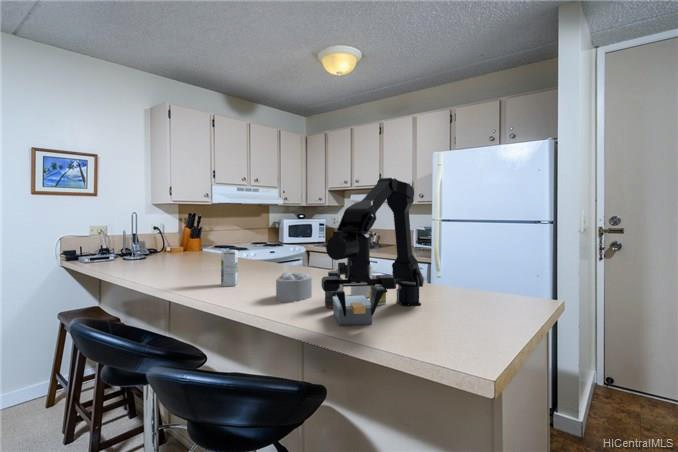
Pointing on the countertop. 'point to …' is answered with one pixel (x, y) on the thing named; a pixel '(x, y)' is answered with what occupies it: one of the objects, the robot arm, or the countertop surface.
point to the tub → (352, 317)
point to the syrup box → (229, 268)
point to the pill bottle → (362, 287)
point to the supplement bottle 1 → (329, 294)
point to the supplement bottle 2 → (383, 298)
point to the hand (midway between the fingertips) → (358, 315)
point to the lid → (354, 303)
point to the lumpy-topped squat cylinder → (293, 287)
